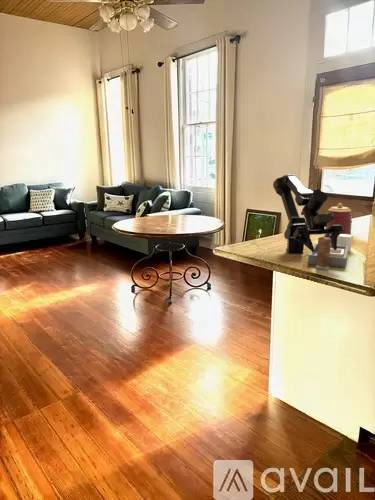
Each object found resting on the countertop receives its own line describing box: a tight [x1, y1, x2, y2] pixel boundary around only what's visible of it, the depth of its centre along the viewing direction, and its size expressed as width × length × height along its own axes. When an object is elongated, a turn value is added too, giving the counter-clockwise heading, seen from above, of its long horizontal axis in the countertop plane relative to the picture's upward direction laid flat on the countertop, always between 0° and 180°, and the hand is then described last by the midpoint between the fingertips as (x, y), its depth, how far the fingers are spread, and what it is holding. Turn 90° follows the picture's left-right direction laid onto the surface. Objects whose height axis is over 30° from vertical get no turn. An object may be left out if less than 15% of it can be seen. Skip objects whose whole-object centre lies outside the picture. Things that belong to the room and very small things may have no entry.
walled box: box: [307, 243, 349, 269], centre depth 155 cm, size 14×20×5 cm
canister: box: [324, 202, 354, 238], centre depth 194 cm, size 13×13×18 cm
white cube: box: [337, 234, 354, 252], centre depth 168 cm, size 7×7×7 cm
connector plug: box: [315, 236, 331, 271], centre depth 142 cm, size 5×5×12 cm
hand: (324, 250), depth 141 cm, fingers open, 9 cm apart
